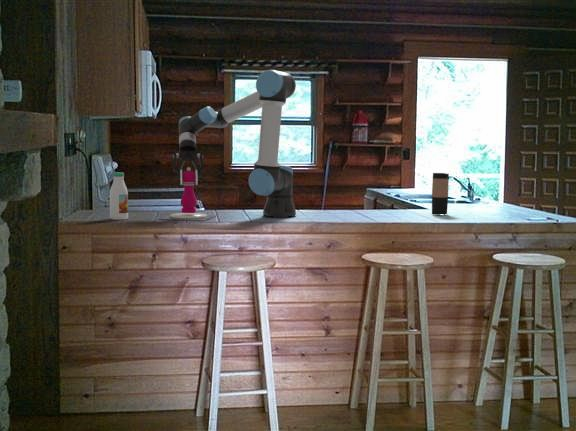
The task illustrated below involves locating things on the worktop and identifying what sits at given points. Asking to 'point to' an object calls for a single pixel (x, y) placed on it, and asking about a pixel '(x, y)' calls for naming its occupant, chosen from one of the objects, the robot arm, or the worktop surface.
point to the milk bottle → (118, 198)
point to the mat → (188, 219)
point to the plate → (188, 215)
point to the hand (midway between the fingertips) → (189, 182)
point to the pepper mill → (188, 192)
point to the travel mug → (440, 193)
